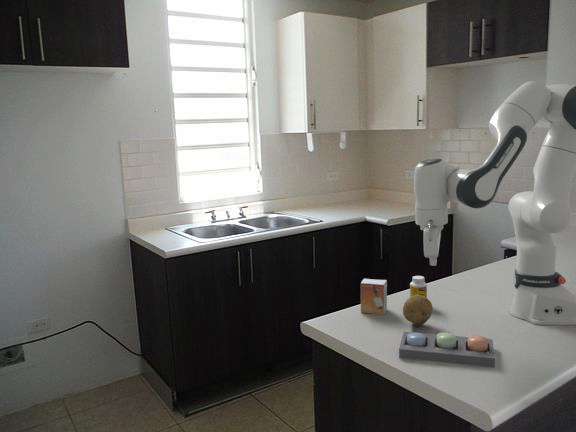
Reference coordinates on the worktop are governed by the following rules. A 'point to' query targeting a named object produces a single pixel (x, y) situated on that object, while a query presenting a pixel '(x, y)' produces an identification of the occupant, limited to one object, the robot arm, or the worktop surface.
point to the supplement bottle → (418, 286)
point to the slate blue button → (416, 339)
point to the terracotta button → (477, 343)
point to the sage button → (446, 341)
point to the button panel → (447, 352)
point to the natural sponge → (417, 309)
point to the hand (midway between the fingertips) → (433, 264)
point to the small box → (374, 296)
